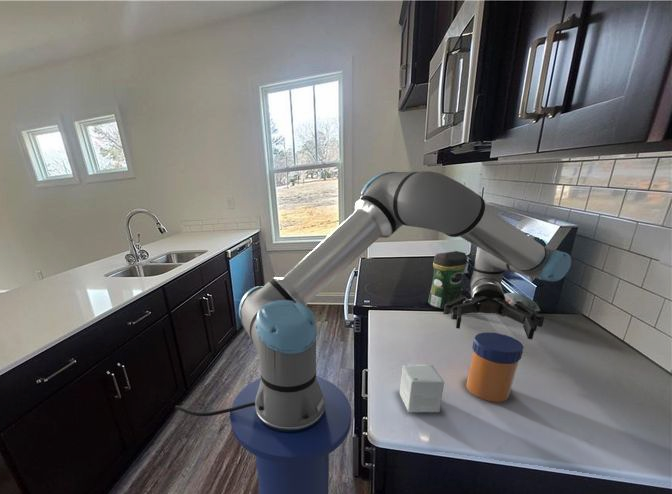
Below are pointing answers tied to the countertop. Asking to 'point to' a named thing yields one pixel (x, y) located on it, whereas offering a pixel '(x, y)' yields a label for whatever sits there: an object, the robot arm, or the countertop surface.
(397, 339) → the countertop surface
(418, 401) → the product box
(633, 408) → the countertop surface
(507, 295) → the packaged food
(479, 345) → the lid
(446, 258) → the coffee jar
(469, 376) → the jam jar
